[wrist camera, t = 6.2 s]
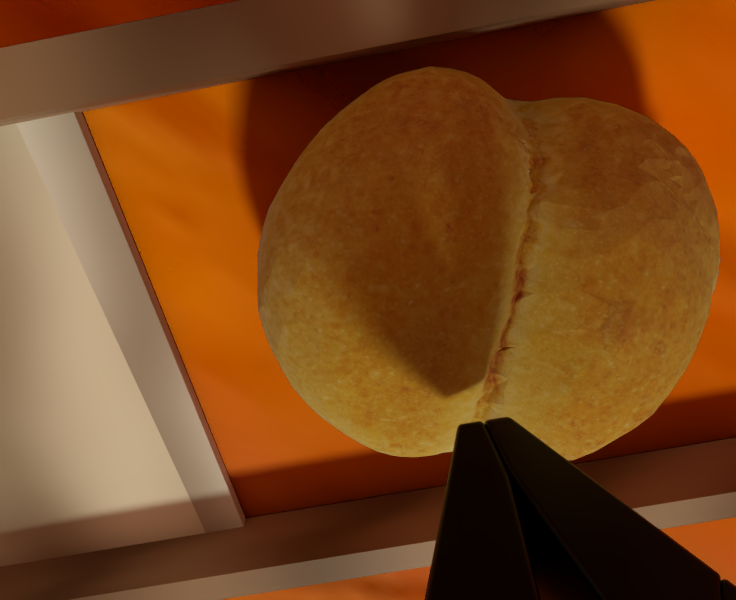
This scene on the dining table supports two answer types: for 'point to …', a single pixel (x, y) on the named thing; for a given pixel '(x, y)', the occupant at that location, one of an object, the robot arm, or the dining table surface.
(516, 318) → the bread roll
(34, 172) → the brown open frame
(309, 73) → the dining table surface
